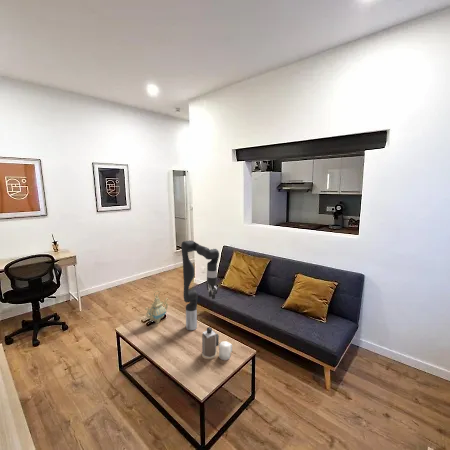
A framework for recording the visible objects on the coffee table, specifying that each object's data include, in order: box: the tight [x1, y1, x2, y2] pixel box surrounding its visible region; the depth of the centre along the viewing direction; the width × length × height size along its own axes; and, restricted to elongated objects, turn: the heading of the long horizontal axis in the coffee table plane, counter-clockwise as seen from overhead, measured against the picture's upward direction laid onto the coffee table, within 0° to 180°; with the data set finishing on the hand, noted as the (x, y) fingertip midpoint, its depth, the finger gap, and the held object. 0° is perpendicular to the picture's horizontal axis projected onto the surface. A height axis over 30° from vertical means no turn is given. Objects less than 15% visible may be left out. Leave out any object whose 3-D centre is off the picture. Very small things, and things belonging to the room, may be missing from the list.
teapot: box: [144, 290, 169, 324], centre depth 218 cm, size 24×12×30 cm, turn 144°
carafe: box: [201, 329, 220, 360], centre depth 179 cm, size 11×13×16 cm
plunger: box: [206, 327, 213, 334], centre depth 178 cm, size 4×4×17 cm
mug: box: [218, 340, 233, 361], centre depth 178 cm, size 8×10×9 cm
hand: (211, 297), depth 187 cm, fingers open, 4 cm apart
